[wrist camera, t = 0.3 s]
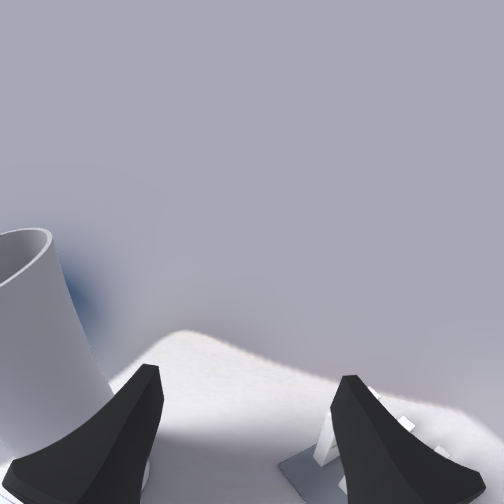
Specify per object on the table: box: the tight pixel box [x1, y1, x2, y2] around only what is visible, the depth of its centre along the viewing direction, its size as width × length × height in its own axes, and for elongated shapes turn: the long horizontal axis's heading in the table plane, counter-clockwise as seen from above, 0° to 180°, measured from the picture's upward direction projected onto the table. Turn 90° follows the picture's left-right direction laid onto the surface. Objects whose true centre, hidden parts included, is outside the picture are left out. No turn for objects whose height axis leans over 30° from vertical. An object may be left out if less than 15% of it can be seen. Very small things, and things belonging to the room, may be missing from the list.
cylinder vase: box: [0, 228, 150, 492], centre depth 17 cm, size 12×12×25 cm
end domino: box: [313, 387, 381, 467], centre depth 23 cm, size 2×5×9 cm, turn 118°
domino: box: [338, 416, 415, 495], centre depth 19 cm, size 2×5×9 cm, turn 118°
